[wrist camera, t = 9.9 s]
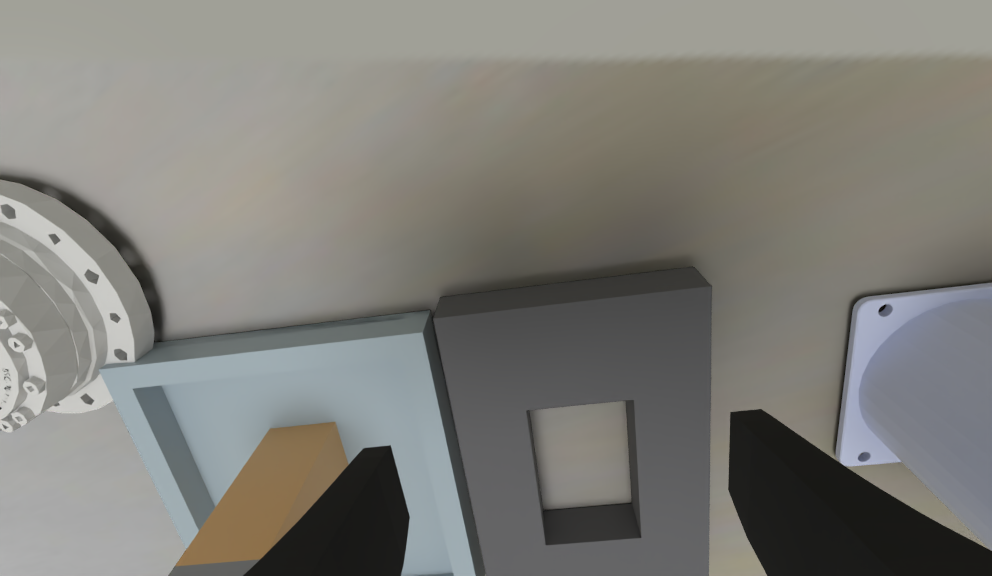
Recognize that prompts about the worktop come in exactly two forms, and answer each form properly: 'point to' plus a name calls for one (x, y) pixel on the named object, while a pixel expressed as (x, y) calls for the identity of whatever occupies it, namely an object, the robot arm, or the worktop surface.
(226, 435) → the parts tray
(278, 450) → the orange two-tone block
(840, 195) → the worktop surface
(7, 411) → the mechanical component
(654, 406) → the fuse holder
